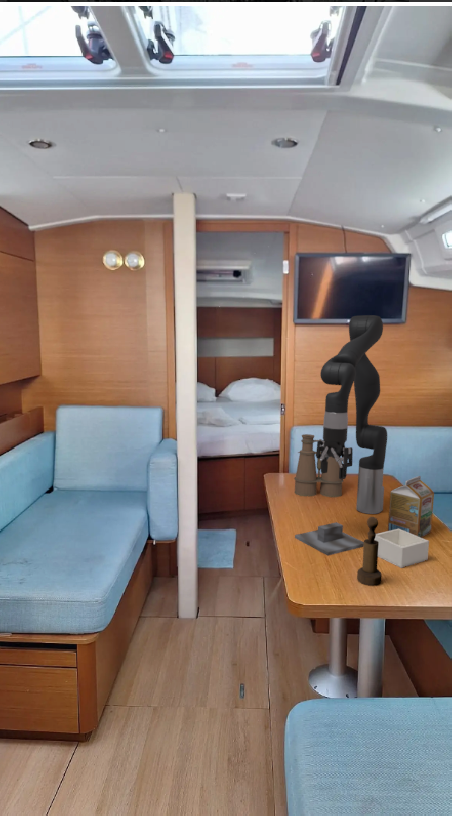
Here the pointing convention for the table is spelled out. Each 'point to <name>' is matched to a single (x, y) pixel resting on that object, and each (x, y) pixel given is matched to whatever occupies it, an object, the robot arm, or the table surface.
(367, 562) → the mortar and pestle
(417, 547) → the white storage bin
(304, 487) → the binoculars
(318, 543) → the lid
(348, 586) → the table surface
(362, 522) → the table surface
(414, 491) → the milk carton
